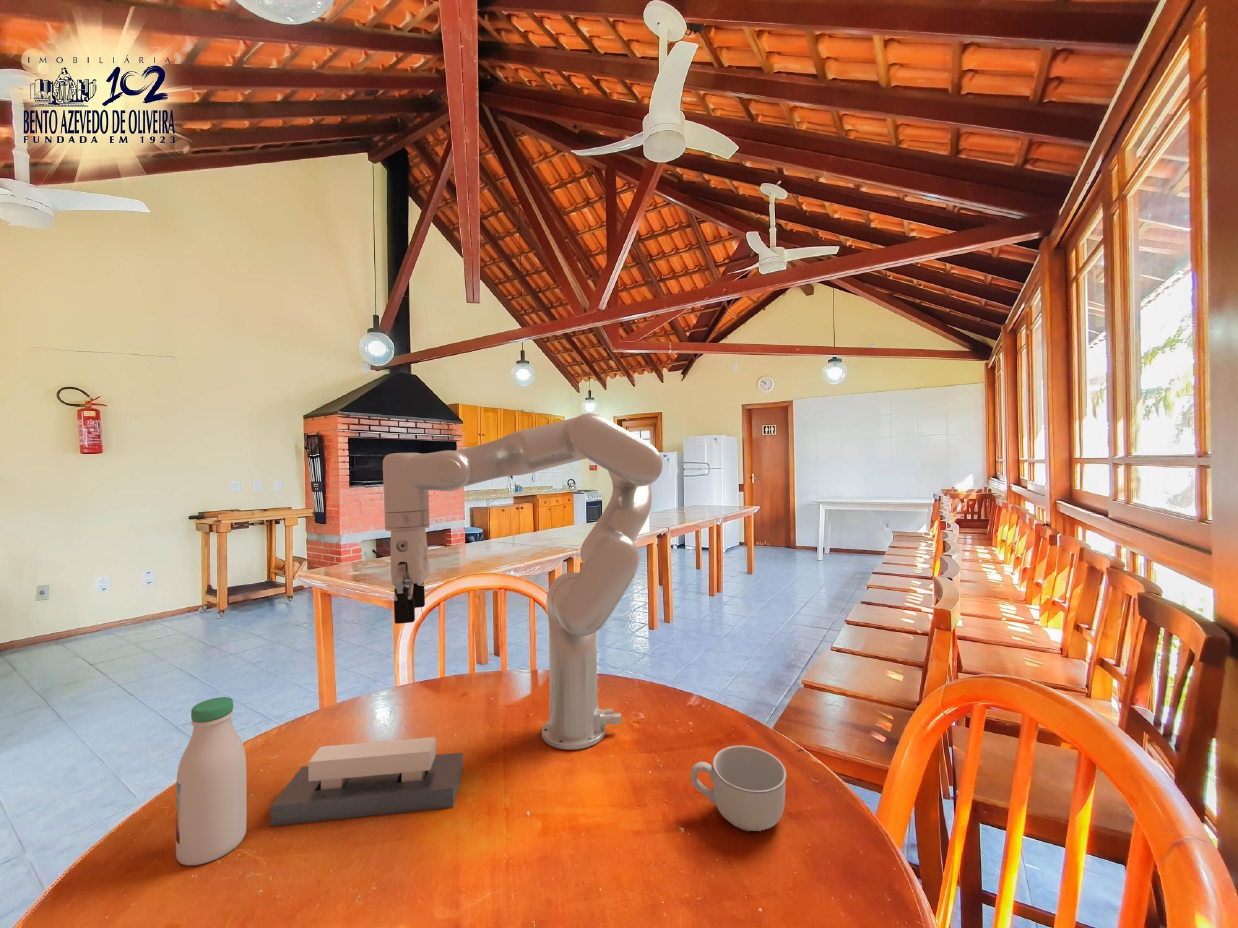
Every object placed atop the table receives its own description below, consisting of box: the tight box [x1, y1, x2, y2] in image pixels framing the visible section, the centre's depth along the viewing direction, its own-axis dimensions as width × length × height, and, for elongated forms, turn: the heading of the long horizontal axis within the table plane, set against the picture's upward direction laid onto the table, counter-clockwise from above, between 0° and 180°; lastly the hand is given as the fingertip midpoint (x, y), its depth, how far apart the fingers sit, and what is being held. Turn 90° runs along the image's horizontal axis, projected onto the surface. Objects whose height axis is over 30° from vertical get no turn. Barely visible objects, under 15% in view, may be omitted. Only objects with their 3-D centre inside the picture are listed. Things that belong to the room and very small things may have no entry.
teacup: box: [690, 745, 787, 832], centre depth 77 cm, size 14×11×8 cm
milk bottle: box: [175, 696, 248, 867], centre depth 71 cm, size 8×8×20 cm
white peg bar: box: [307, 736, 437, 790], centre depth 82 cm, size 18×4×8 cm, turn 99°
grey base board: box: [269, 752, 464, 827], centre depth 82 cm, size 26×10×3 cm, turn 99°
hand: (410, 614), depth 92 cm, fingers open, 9 cm apart
